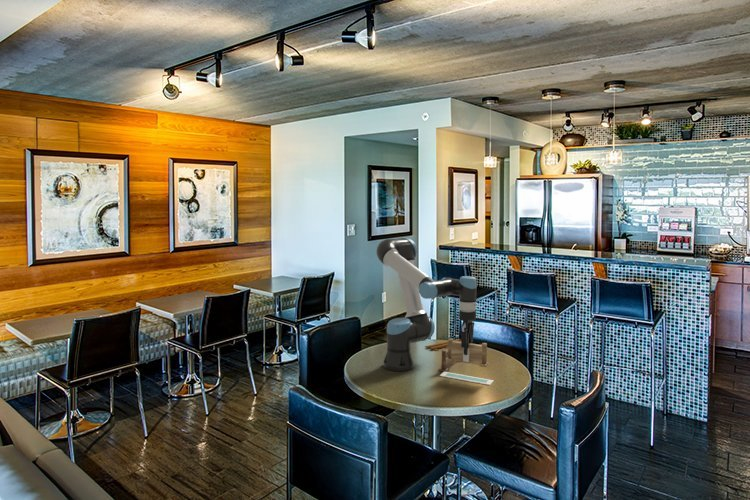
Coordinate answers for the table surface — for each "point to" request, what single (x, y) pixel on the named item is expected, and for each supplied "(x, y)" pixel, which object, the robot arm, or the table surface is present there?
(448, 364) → the walnut fence panel
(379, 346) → the table surface
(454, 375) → the strip
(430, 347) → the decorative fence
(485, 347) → the oak fence segment
